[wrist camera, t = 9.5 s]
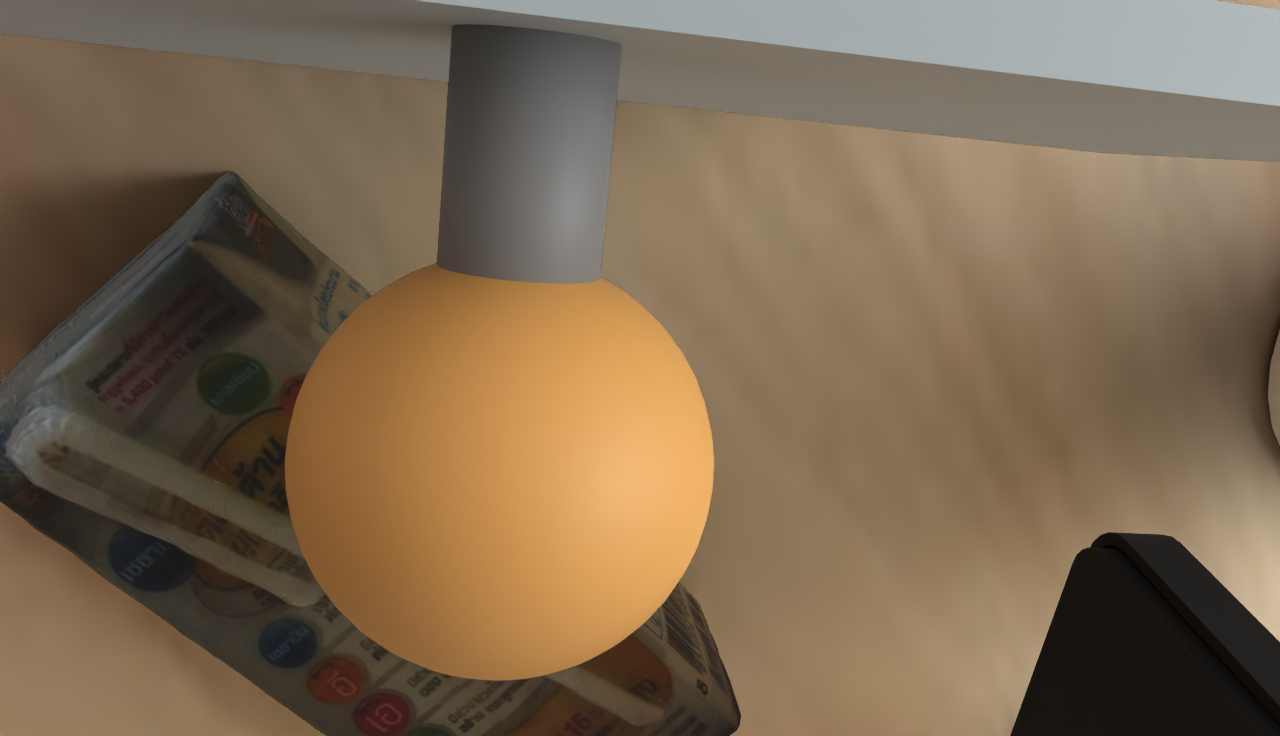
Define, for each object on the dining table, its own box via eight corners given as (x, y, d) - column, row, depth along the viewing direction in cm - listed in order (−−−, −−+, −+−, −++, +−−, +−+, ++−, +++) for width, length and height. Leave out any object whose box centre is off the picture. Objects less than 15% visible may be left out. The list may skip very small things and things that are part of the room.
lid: (2104, 124, 9) (1882, 749, 10) (1109, 120, 21) (1060, 393, 22) (-2897, -590, 4) (-2246, 808, 5) (-349, -47, 16) (-321, 311, 17)
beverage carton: (239, 142, 27) (184, 232, 21) (712, 591, 35) (767, 745, 29) (17, 348, 28) (-93, 486, 22) (523, 734, 37) (540, 908, 31)
